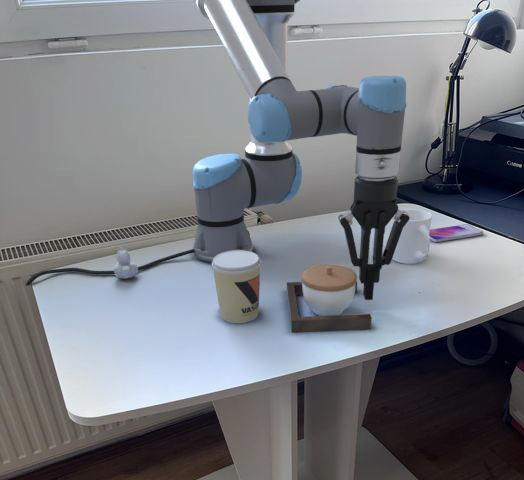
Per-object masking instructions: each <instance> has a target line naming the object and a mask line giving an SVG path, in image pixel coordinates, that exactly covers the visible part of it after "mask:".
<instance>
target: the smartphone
mask: <svg viewBox="0 0 524 480" xmlns="http://www.w3.org/2000/svg"><path fill="white" fill-rule="evenodd" d="M483 235H484V231H483V230H480V229H479V228H478V227H476V226H473V225H471V224H469V223H465V224H457V225H451V226H445V227H437V228H430V233H429V236H430V241H432V242H434V243H441V242H447V241H453V240H458V239H465V238H470V237H478V236H483Z"/></svg>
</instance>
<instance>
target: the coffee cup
mask: <svg viewBox="0 0 524 480" xmlns="http://www.w3.org/2000/svg"><path fill="white" fill-rule="evenodd" d="M261 265H262V261H261V259H260V256H259V255H258V254H257V253H255V252H254V251H253V252H250V251H244V250H233V251H227V252H223V253H220V254H218V255H217V256H215V257H214V259H213V262H212V263H211V267H212V271H213V278H214V285H215V289H216V297H217V302H218V303H217V304H218V307H219V308H218V309H219V313H220V314H219V315H220V317H221V319H222V320H223V321H225V322H227V323H230V324H246V323H248V322H252V321H254V320H256V318H257V317H258V316H259V313H260V291H261V289H260V288H261V287H260V286H261Z"/></svg>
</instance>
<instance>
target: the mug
mask: <svg viewBox="0 0 524 480" xmlns="http://www.w3.org/2000/svg"><path fill="white" fill-rule="evenodd" d="M399 210H400V211H402V212H406V214H407V215H408V216H409V218H410V219H409V221H408V222H407V223H406V225H405V226H404V227H403V229H402V232H401V235H400V238H399V241H398V243H397V246H396V249H395V252H394V255H393V258H392V261H394V262H396V263H399V264H405V265H415V264H419V263H422V262H424V261H425V259H426V258H427V257H428V255H429V252H430V246H431V240H430V236H429V233H430V230H431V224H432V218H433V215H432V213H430V212H428V211H426V210H423V209H414V208H407V209H399ZM394 217H395V215H394ZM394 217H393V218H392V224H393V223H394Z"/></svg>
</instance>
